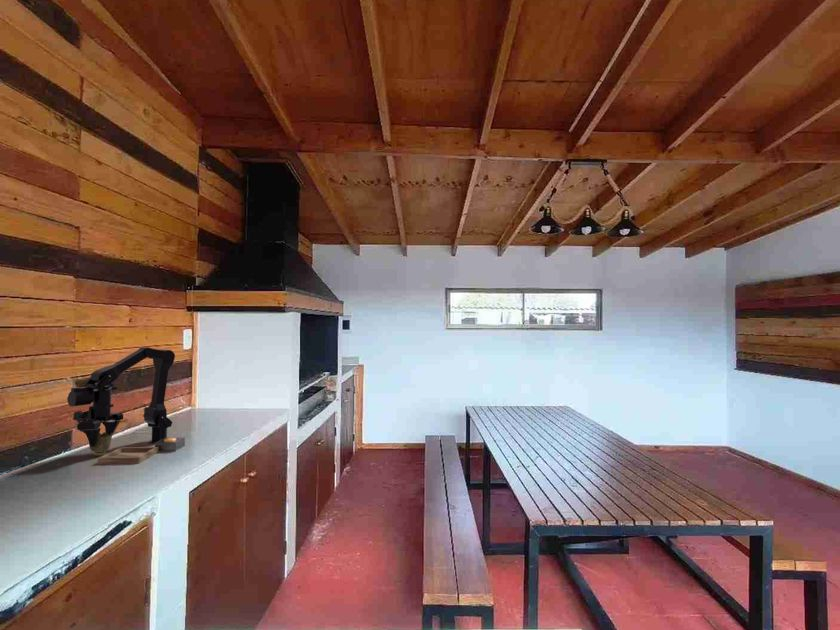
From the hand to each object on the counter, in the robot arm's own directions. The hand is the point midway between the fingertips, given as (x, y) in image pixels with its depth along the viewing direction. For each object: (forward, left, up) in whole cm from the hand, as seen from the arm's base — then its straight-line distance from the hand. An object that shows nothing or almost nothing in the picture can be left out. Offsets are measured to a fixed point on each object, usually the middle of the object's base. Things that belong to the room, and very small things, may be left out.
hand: (100, 443), depth 165 cm
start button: (-8, +22, -3) cm, 24 cm away
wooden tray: (+4, +13, -5) cm, 14 cm away
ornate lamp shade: (0, 0, -5) cm, 5 cm away
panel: (-8, +22, -5) cm, 24 cm away
